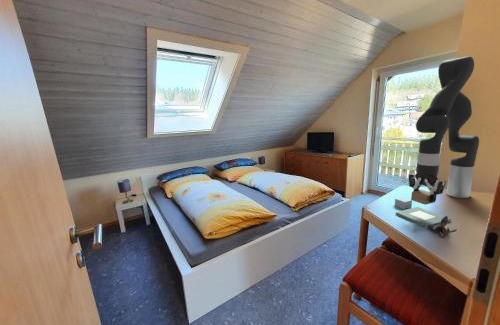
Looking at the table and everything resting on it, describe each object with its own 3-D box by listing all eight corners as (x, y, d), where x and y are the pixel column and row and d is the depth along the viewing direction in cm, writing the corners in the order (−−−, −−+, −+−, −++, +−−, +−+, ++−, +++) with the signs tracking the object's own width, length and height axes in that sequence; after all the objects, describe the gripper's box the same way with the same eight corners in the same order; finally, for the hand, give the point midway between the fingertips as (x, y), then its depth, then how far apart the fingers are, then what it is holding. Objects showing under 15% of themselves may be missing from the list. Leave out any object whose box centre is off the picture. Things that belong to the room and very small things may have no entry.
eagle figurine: (462, 238, 80) (452, 222, 87) (452, 223, 79) (443, 209, 87) (438, 243, 84) (431, 228, 91) (429, 230, 83) (421, 216, 91)
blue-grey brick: (401, 204, 114) (402, 197, 113) (411, 207, 109) (412, 200, 108) (394, 205, 112) (395, 198, 111) (404, 209, 107) (404, 202, 107)
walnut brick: (420, 197, 100) (421, 189, 99) (434, 202, 94) (436, 193, 93) (411, 199, 98) (411, 191, 97) (425, 204, 92) (426, 195, 92)
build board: (417, 209, 107) (417, 206, 106) (450, 221, 93) (450, 218, 93) (395, 214, 103) (396, 212, 102) (427, 228, 90) (427, 225, 89)
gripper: (453, 165, 87) (448, 203, 91) (417, 159, 100) (413, 193, 104) (440, 167, 85) (435, 207, 88) (405, 161, 98) (401, 195, 102)
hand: (423, 199), depth 96 cm, fingers closed on walnut brick, 6 cm apart
